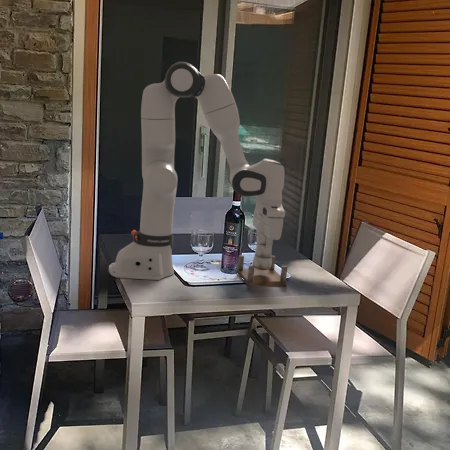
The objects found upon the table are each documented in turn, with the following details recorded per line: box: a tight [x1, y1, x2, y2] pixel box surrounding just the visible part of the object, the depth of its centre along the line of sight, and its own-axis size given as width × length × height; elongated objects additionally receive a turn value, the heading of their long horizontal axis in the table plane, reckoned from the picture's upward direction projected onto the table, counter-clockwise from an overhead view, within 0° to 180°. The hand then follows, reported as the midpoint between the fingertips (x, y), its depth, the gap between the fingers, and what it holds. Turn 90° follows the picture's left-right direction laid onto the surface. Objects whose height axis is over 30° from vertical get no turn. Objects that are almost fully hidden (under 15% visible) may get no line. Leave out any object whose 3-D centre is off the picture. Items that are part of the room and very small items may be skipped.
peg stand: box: [236, 254, 289, 287], centre depth 203 cm, size 14×14×6 cm
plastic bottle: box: [252, 217, 274, 270], centre depth 200 cm, size 6×7×20 cm
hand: (264, 245), depth 201 cm, fingers closed on plastic bottle, 6 cm apart
